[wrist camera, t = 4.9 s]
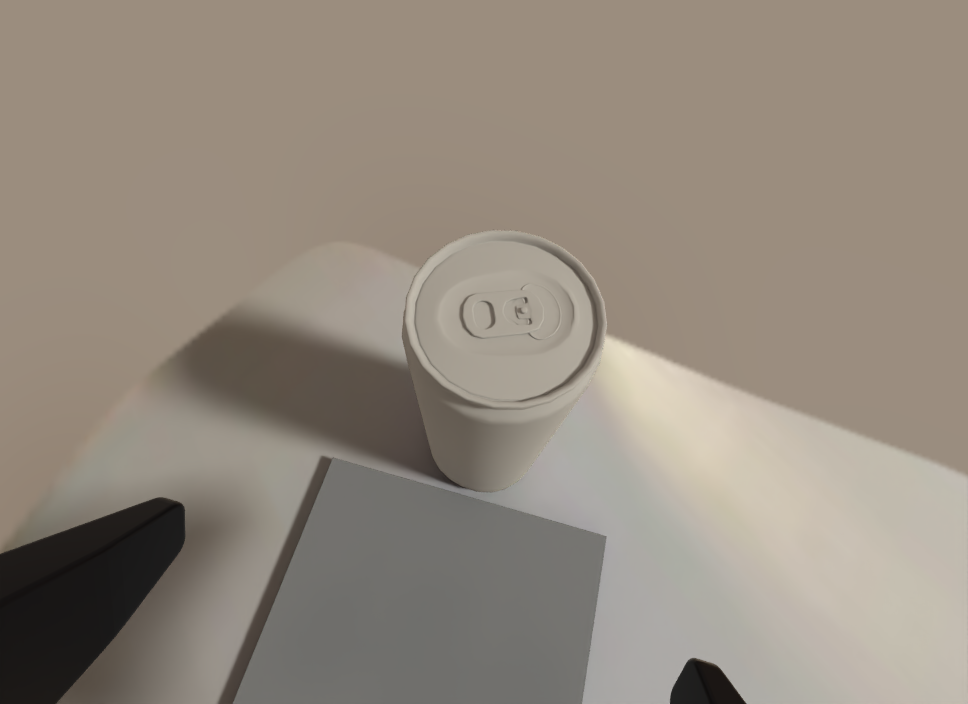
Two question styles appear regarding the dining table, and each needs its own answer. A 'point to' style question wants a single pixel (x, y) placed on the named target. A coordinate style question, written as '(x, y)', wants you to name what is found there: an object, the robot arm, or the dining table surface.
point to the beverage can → (499, 351)
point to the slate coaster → (426, 601)
